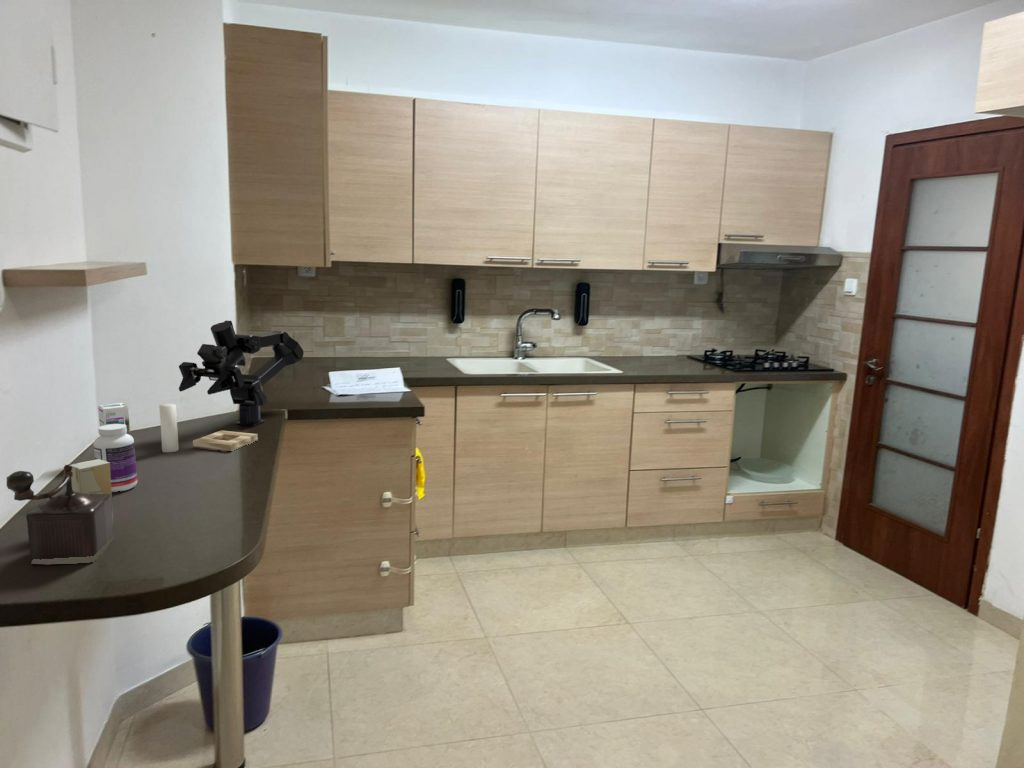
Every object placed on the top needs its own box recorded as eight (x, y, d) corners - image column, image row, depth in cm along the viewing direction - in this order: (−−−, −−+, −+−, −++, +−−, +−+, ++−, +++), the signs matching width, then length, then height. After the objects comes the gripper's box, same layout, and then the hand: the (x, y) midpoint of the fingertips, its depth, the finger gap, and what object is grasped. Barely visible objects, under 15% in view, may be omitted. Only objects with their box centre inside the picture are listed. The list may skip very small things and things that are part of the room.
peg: (169, 447, 196) (166, 402, 193) (181, 449, 195) (179, 404, 192) (158, 451, 192) (155, 405, 189) (171, 453, 191) (168, 407, 189)
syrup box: (107, 465, 179) (103, 408, 177) (102, 459, 184) (97, 404, 181) (132, 461, 183) (128, 405, 180) (126, 455, 187) (122, 401, 185)
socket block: (221, 437, 207) (220, 430, 207) (257, 440, 205) (257, 434, 204) (193, 447, 196) (192, 440, 196) (231, 452, 193) (231, 444, 193)
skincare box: (82, 529, 140) (77, 469, 137) (70, 524, 142) (65, 465, 140) (115, 519, 145) (110, 461, 143) (103, 514, 147) (98, 457, 145)
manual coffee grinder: (52, 542, 133) (42, 449, 130) (116, 539, 135) (108, 447, 132) (10, 580, 118) (-2, 476, 115) (83, 576, 120) (74, 474, 117)
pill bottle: (144, 482, 167) (140, 422, 164) (125, 494, 159) (120, 431, 156) (110, 481, 167) (105, 421, 165) (89, 493, 159) (84, 430, 157)
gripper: (189, 335, 208) (155, 364, 196) (245, 340, 203) (213, 370, 191) (202, 367, 214) (169, 397, 202) (256, 372, 210) (226, 403, 198)
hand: (193, 391), depth 198 cm, fingers open, 9 cm apart
